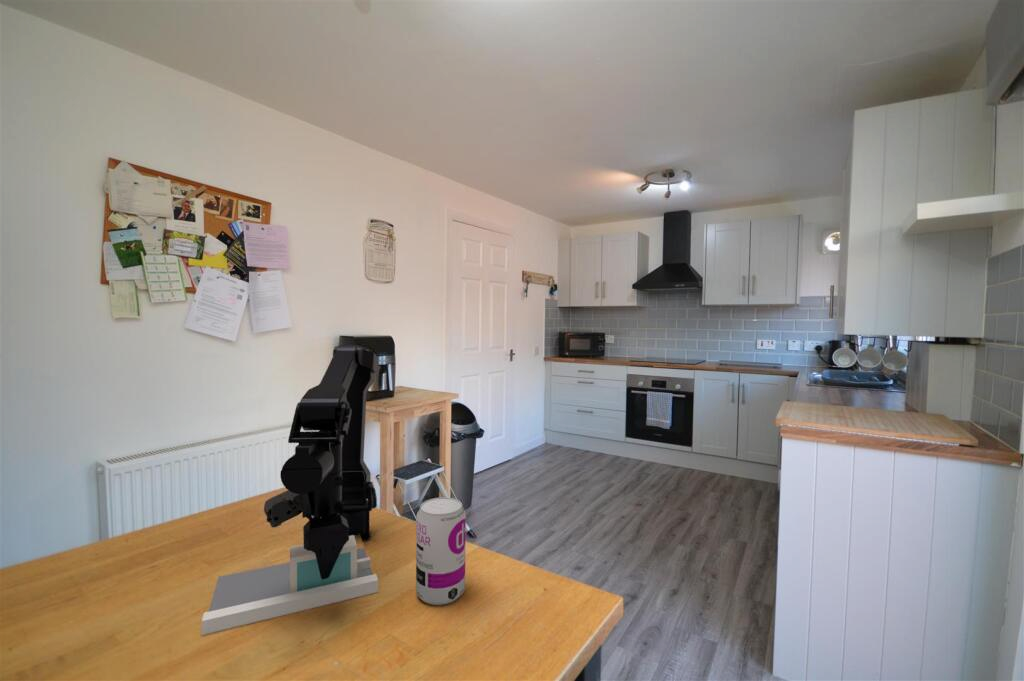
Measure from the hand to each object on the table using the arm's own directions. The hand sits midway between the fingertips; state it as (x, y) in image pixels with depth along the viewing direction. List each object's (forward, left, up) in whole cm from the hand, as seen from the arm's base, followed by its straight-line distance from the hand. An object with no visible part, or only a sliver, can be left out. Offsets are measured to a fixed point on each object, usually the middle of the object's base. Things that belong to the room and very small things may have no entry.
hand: (323, 564), depth 74 cm
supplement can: (-18, +7, -6) cm, 20 cm away
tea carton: (0, 0, -4) cm, 4 cm away
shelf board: (+4, -3, -6) cm, 7 cm away
